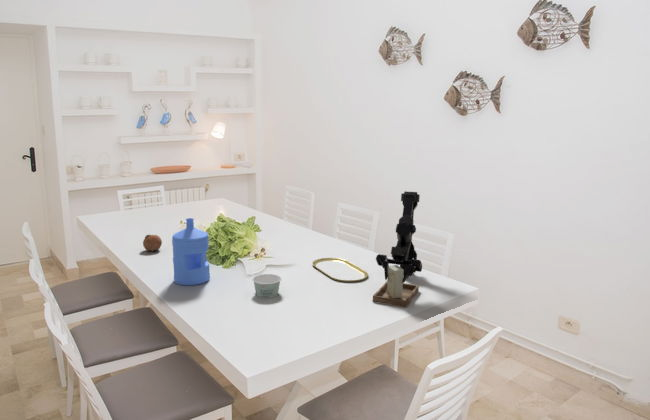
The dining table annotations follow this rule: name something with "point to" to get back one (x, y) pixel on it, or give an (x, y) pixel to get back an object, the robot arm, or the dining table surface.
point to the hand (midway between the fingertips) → (394, 281)
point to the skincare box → (395, 281)
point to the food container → (266, 285)
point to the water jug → (190, 255)
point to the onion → (152, 242)
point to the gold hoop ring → (342, 262)
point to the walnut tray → (407, 296)
